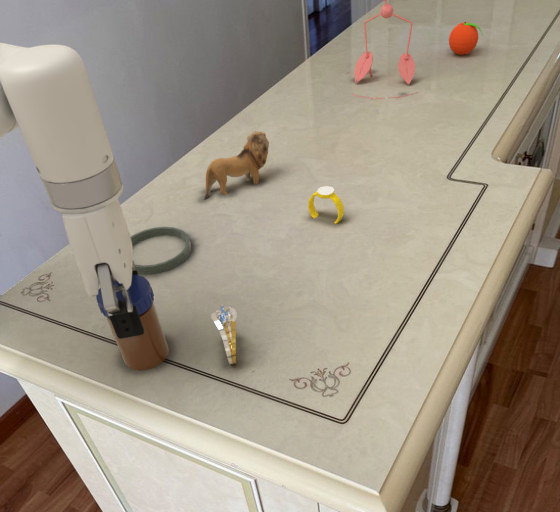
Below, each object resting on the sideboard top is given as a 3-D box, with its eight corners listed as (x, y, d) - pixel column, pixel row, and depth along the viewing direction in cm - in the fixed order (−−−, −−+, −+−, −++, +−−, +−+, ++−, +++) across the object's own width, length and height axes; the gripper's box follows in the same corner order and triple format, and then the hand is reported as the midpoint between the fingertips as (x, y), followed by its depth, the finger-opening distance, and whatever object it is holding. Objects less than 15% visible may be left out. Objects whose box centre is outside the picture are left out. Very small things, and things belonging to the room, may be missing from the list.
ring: (246, 374, 74) (236, 326, 68) (221, 378, 74) (209, 330, 68) (244, 338, 79) (235, 290, 73) (221, 341, 79) (209, 294, 73)
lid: (165, 296, 72) (161, 284, 70) (125, 327, 68) (120, 314, 67) (129, 280, 75) (125, 268, 73) (89, 309, 71) (84, 297, 70)
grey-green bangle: (108, 266, 95) (103, 254, 93) (157, 231, 101) (154, 220, 99) (157, 286, 90) (154, 274, 88) (206, 249, 96) (203, 237, 94)
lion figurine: (263, 171, 113) (257, 124, 106) (279, 180, 109) (274, 133, 103) (197, 199, 108) (186, 151, 101) (211, 210, 104) (201, 161, 98)
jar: (116, 365, 78) (89, 302, 70) (147, 338, 81) (125, 275, 74) (148, 380, 75) (124, 317, 68) (179, 352, 78) (159, 288, 71)
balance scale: (339, 72, 146) (334, -108, 121) (443, 78, 136) (460, -117, 111) (315, 96, 136) (304, -94, 112) (425, 104, 127) (439, -102, 102)
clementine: (484, 50, 146) (488, 18, 141) (475, 60, 142) (479, 27, 137) (453, 48, 149) (456, 17, 144) (443, 58, 145) (446, 25, 140)
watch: (306, 223, 98) (303, 190, 94) (315, 215, 99) (312, 182, 95) (338, 231, 95) (336, 197, 91) (346, 222, 97) (345, 189, 92)
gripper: (56, 153, 66) (106, 281, 79) (34, 232, 54) (97, 369, 67) (122, 142, 67) (161, 271, 79) (115, 218, 54) (162, 357, 67)
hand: (131, 315), depth 73 cm, fingers closed on lid, 6 cm apart
